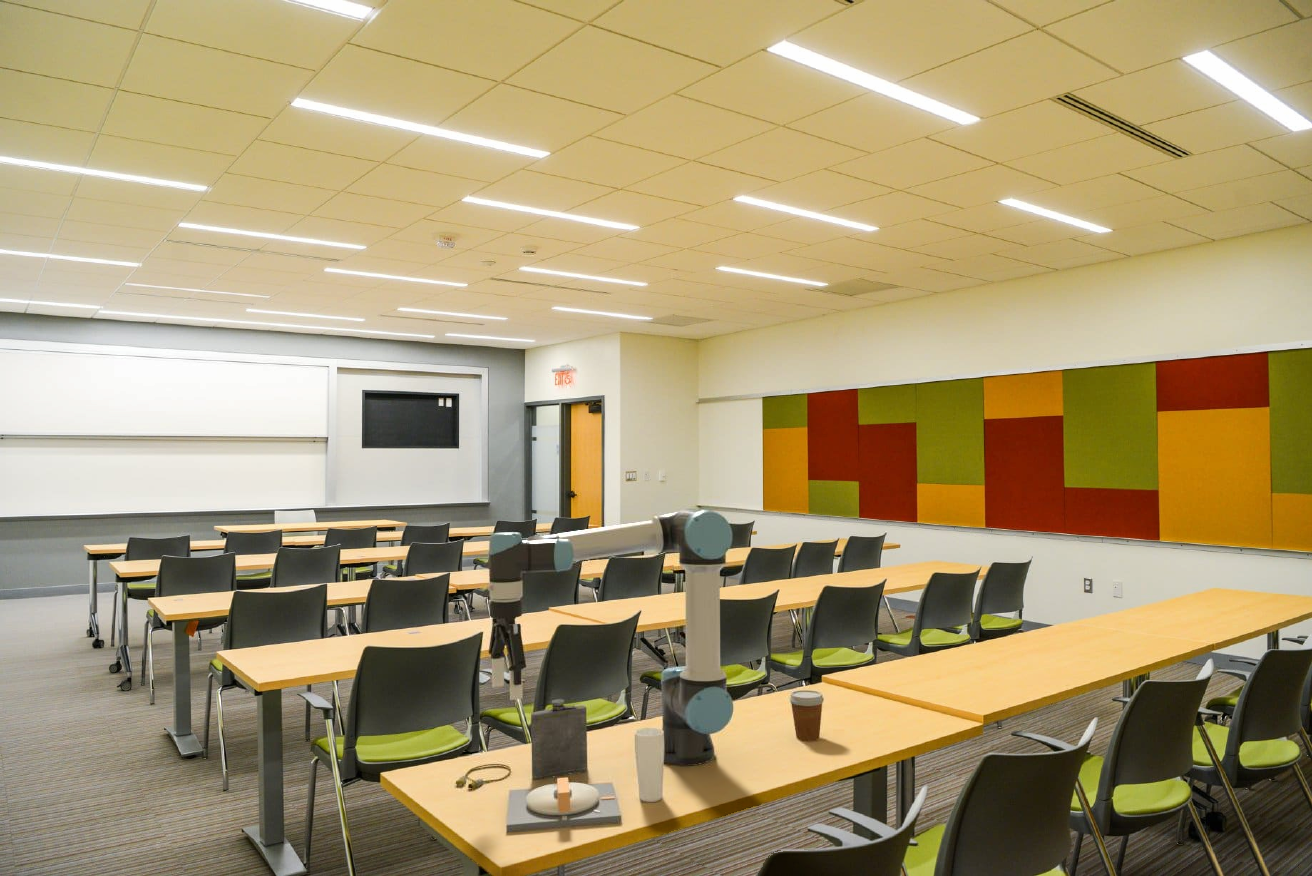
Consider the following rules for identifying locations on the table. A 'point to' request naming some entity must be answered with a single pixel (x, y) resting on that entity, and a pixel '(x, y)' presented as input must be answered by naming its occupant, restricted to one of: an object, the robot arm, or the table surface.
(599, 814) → the dial housing
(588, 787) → the dial
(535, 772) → the flask
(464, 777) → the extension cord
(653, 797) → the drinking glass
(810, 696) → the disposable coffee cup
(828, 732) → the table surface
